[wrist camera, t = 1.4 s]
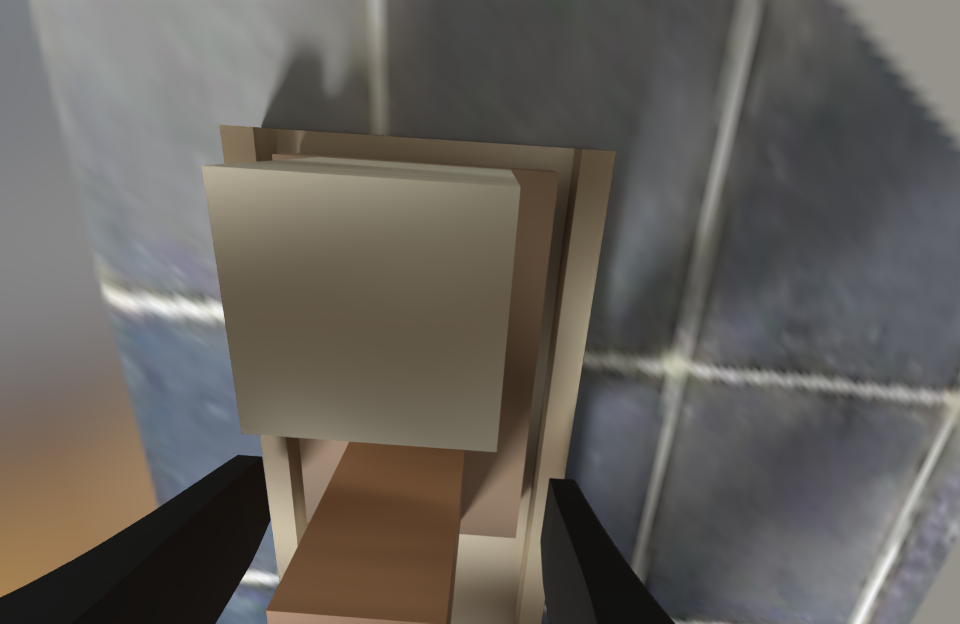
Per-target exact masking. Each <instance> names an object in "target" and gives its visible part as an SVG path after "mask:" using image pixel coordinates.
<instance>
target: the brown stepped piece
mask: <svg viewBox="0 0 960 624" xmlns="http://www.w3.org/2000/svg"><path fill="white" fill-rule="evenodd" d="M313 157H326V158H341V159H356V160H371V161H386V162H401V163H416V164H431V165H446V166H461V167H476V168H491V169H506V170H511V171H512V173H513V174H514V176H515V178H516V180H517V182H518V183H519V185H520V187H521V188H520V199H519V210H518V221H517V232H516V243H515V255H514V266H513V277H512V288H511V299H510V310H509V321H508V332H507V343H506V354H505V365H504V376H503V387H502V398H501V409H500V420H499V431H498V442H497V452H486V451H472V450H459V449H445V448H431V447H418V446H404V445H390V444H377V443H363V442H349V441H336V440H322V439H309V438H299V443H300V454H301V464H302V475H303V485H304V496H305V506H306V517H307V523H309V525H308V527H307V529H306V531H305V533H304V535H303V537H302V539H301V541H300V543H299V545H298V547H297V549H296V551H295V553H294V555H293V557H292V559H291V561H290V563H289V565H288V567H287V569H286V571H285V573H284V575H283V577H282V579H281V581H280V583H279V585H278V587H277V589H276V591H275V593H274V595H273V597H272V599H271V601H270V603H269V606H268V608H267V610H266V614H267V621H268V624H451V618H452V608H453V597H454V587H455V576H456V566H457V555H458V544H459V534H465V535H478V536H492V537H505V538H516V532H517V524H518V516H519V507H520V499H521V490H522V482H523V473H524V465H525V456H526V448H527V440H528V431H529V423H530V414H531V406H532V398H533V389H534V381H535V372H536V364H537V355H538V347H539V339H540V330H541V322H542V313H543V305H544V296H545V288H546V279H547V271H548V263H549V254H550V246H551V237H552V229H553V220H554V212H555V204H556V195H557V187H558V178H559V173H558V172H555V171H552V170H538V169H523V168H508V167H493V166H478V165H463V164H448V163H433V162H418V161H403V160H388V159H373V158H358V157H343V156H328V155H313V154H298V153H284V154H272V159H273V160H286V159H300V158H313Z"/></svg>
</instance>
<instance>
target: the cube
mask: <svg viewBox="0 0 960 624" xmlns="http://www.w3.org/2000/svg"><path fill="white" fill-rule="evenodd" d="M202 170H203V176H204V183H205V190H206V197H207V203H208V210H209V217H210V224H211V230H212V237H213V244H214V251H215V257H216V264H217V271H218V278H219V284H220V291H221V298H222V305H223V311H224V318H225V325H226V332H227V338H228V345H229V352H230V359H231V365H232V372H233V379H234V386H235V392H236V399H237V406H238V413H239V419H240V426H241V433H242V434H254V435H268V436H281V437H295V438H309V439H322V440H336V441H349V442H363V443H377V444H390V445H404V446H418V447H431V448H445V449H459V450H472V451H486V452H497V442H498V431H499V420H500V409H501V398H502V387H503V376H504V365H505V354H506V343H507V332H508V321H509V310H510V299H511V288H512V277H513V266H514V255H515V243H516V232H517V221H518V210H519V199H520V188H521V187H520V185H519V183H518V182H517V180H516V178H515V176H514V174H513V173H512V171H511V170H506V169H491V168H476V167H461V166H446V165H431V164H416V163H401V162H386V161H371V160H356V159H341V158H326V157H313V158H300V159H286V160H273V161H259V162H245V163H232V164H218V165H205V166H202Z"/></svg>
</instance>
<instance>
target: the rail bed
mask: <svg viewBox="0 0 960 624" xmlns="http://www.w3.org/2000/svg"><path fill="white" fill-rule="evenodd" d="M220 132H221V140H222V148H223V155H224V163H225V164H232V163H245V162H259V161H273V159H272V154H284V153H298V154H313V155H328V156H343V157H358V158H373V159H388V160H403V161H418V162H433V163H448V164H463V165H478V166H493V167H508V168H523V169H538V170H552V171H555V172H558V173H559V178H558V187H557V195H556V204H555V212H554V220H553V229H552V237H551V246H550V254H549V263H548V271H547V279H546V288H545V296H544V305H543V313H542V322H541V330H540V339H539V347H538V355H537V364H536V372H535V381H534V389H533V398H532V406H531V414H530V423H529V431H528V440H527V448H526V456H525V465H524V473H523V482H522V490H521V499H520V507H519V516H518V524H517V532H516V538H505V537H492V536H478V535H465V534H459V544H458V555H457V566H456V576H455V587H454V597H453V608H452V618H451V624H541V622H542V615H543V609H544V603H545V594H544V588H543V579H542V563H541V545H540V539H541V532H542V525H543V518H544V511H545V504H546V497H547V490H548V483H549V478H557V479H564V477H565V471H566V464H567V458H568V452H569V445H570V439H571V433H572V427H573V420H574V414H575V408H576V401H577V395H578V389H579V382H580V376H581V370H582V364H583V357H584V351H585V345H586V338H587V332H588V326H589V319H590V313H591V307H592V301H593V294H594V288H595V282H596V275H597V269H598V263H599V257H600V250H601V244H602V238H603V231H604V225H605V219H606V212H607V206H608V200H609V194H610V187H611V181H612V175H613V168H614V162H615V156H616V151H605V150H590V149H574V148H559V147H544V146H529V145H514V144H499V143H484V142H469V141H453V140H438V139H423V138H408V137H393V136H378V135H363V134H348V133H333V132H318V131H303V130H287V129H272V128H258V127H243V126H228V125H220ZM260 437H261V445H262V453H263V460H264V468H265V476H266V483H267V491H268V499H269V506H270V514H271V521H272V529H273V537H274V544H275V552H276V560H277V567H278V575H279V582H280V581H281V579H282V577H283V575H284V573H285V571H286V569H287V567H288V565H289V563H290V561H291V559H292V557H293V555H294V553H295V551H296V549H297V547H298V545H299V543H300V541H301V539H302V537H303V535H304V533H305V531H306V529H307V527H308V525H309V523H307V517H306V506H305V496H304V485H303V475H302V464H301V454H300V443H299V438H295V437H281V436H268V435H260Z"/></svg>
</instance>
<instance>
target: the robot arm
mask: <svg viewBox="0 0 960 624" xmlns="http://www.w3.org/2000/svg"><path fill="white" fill-rule="evenodd" d="M269 522H270V512H269V505H268V497H267V490H266V482H265V474H264V467H263V459H262V457H259V456H245V455H237V456H236V457H234V458H232V459H231V460H229V461H228V462H226V463H225V464H223V465H222V466H220V467H219V468H217V469H216V470H214V471H213V472H211V473H210V474H208V475H207V476H205V477H204V478H202V479H201V480H199V481H198V482H196V483H195V484H193V485H192V486H190V487H189V488H188V489H186V490H184V491H183V492H181V493H180V494H178V495H177V496H175V497H174V498H172V499H171V500H169V501H168V502H166V503H165V504H163V505H162V506H160V507H159V508H157V509H156V510H154V511H153V512H151V513H150V514H148V515H147V516H145V517H143V518H142V519H140V520H138V521H137V522H135V523H134V524H132V525H131V526H129V527H127V528H126V529H124V530H122V531H121V532H119V533H117V534H116V535H114V536H113V537H111V538H109V539H108V540H107V541H105V542H103V543H101V544H100V545H98V546H96V547H95V548H93V549H91V550H89V551H88V552H86V553H84V554H82V555H81V556H79V557H77V558H75V559H74V560H72V561H70V562H68V563H66V564H65V565H63V566H61V567H59V568H57V569H55V570H53V571H52V572H50V573H48V574H46V575H44V576H42V577H40V578H39V579H37V580H35V581H33V582H31V583H29V584H27V585H25V586H23V587H21V588H19V589H17V590H15V591H13V592H11V593H9V594H7V595H5V596H3V597H0V624H215V623H216V622H217V620H218V618H219V617H220V615H221V613H222V612H223V610H224V608H225V607H226V605H227V603H228V602H229V600H230V598H231V597H232V595H233V593H234V592H235V590H236V588H237V587H238V585H239V583H240V581H241V580H242V578H243V576H244V575H245V573H246V571H247V569H248V568H249V566H250V564H251V562H252V561H253V558H254V556H255V554H256V552H257V550H258V548H259V545H260V543H261V541H262V539H263V536H264V534H265V532H266V529H267V527H268V525H269ZM540 545H541V563H542V579H543V588H544V594H545V601H546V607H547V613H548V619H549V624H675V623H674V622H673V620H672V619H671V618H670V617H669V616H668V615H667V614H666V612H665V611H664V610H663V609H662V607H661V606H660V605H659V604H658V603H657V601H656V600H655V599H654V598H653V596H652V595H651V594H650V592H649V591H648V590H647V589H646V587H645V586H644V585H643V583H642V582H641V581H640V579H639V578H638V577H637V575H636V574H635V573H634V571H633V570H632V569H631V567H630V566H629V564H628V563H627V562H626V560H625V559H624V557H623V556H622V555H621V553H620V552H619V550H618V549H617V547H616V546H615V544H614V543H613V541H612V540H611V538H610V537H609V535H608V534H607V532H606V531H605V529H604V528H603V526H602V525H601V523H600V521H599V520H598V518H597V517H596V515H595V513H594V512H593V510H592V508H591V507H590V505H589V503H588V502H587V500H586V498H585V496H584V495H583V493H582V491H581V489H580V488H579V486H578V484H577V483H576V482H575V481H574V480H570V479H557V478H549V483H548V490H547V497H546V504H545V511H544V518H543V525H542V532H541V539H540Z"/></svg>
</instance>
